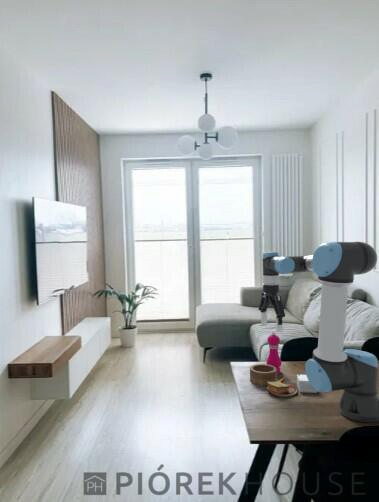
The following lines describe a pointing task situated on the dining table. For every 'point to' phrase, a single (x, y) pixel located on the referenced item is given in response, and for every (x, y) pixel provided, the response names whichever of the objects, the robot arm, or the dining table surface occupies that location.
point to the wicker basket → (263, 374)
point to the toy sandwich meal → (281, 388)
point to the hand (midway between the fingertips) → (271, 328)
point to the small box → (304, 384)
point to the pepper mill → (274, 352)
